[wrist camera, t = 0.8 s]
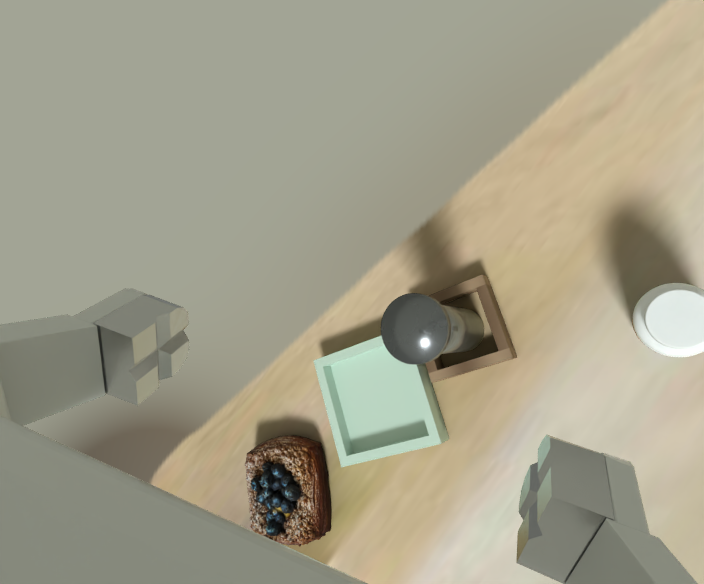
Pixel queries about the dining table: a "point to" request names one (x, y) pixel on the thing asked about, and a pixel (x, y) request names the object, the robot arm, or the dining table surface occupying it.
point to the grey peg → (428, 329)
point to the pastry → (288, 490)
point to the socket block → (494, 320)
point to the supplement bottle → (671, 319)
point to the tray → (378, 403)
